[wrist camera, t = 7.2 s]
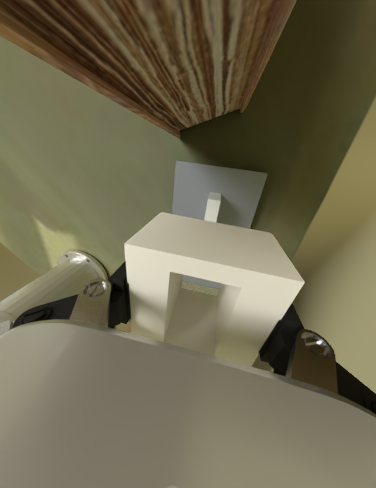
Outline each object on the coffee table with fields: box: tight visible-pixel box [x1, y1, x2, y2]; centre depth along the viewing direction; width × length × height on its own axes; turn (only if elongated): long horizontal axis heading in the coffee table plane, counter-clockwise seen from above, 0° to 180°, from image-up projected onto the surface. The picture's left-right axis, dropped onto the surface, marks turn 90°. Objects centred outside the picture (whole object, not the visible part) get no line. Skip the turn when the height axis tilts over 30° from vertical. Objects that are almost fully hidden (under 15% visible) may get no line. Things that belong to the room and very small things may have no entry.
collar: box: [124, 212, 305, 367], centre depth 10 cm, size 7×7×4 cm
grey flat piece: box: [172, 161, 268, 289], centre depth 26 cm, size 22×13×6 cm, turn 173°
